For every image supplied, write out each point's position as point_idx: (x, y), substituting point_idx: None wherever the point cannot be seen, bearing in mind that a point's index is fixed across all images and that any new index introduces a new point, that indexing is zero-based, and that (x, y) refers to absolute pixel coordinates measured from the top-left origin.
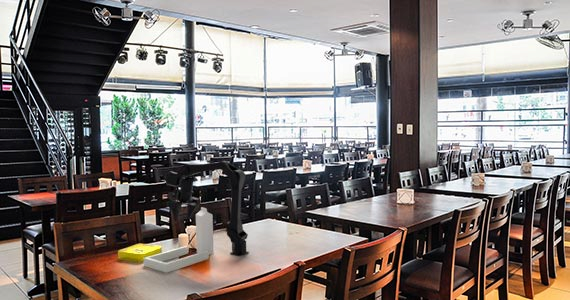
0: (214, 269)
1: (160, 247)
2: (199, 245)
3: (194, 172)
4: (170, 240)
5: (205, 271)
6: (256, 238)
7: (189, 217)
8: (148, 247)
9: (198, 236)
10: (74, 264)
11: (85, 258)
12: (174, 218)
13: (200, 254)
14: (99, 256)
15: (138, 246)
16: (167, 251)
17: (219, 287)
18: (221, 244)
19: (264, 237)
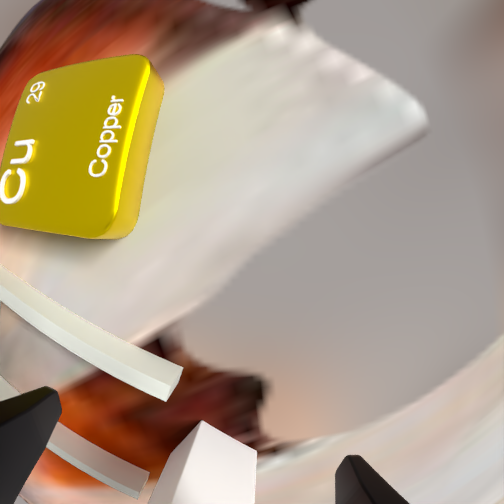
0: (76, 495)
1: (91, 237)
2: (171, 467)
3: None
4: (414, 119)
5: (53, 477)
6: (460, 488)
7: (336, 489)
8: (69, 170)
9: (162, 497)
10: (21, 35)
11: (69, 5)
12: (17, 402)
13: (95, 476)
14: (85, 14)
15: (85, 100)
16: (51, 325)
17: (20, 495)
18: (385, 448)
19: (466, 496)
